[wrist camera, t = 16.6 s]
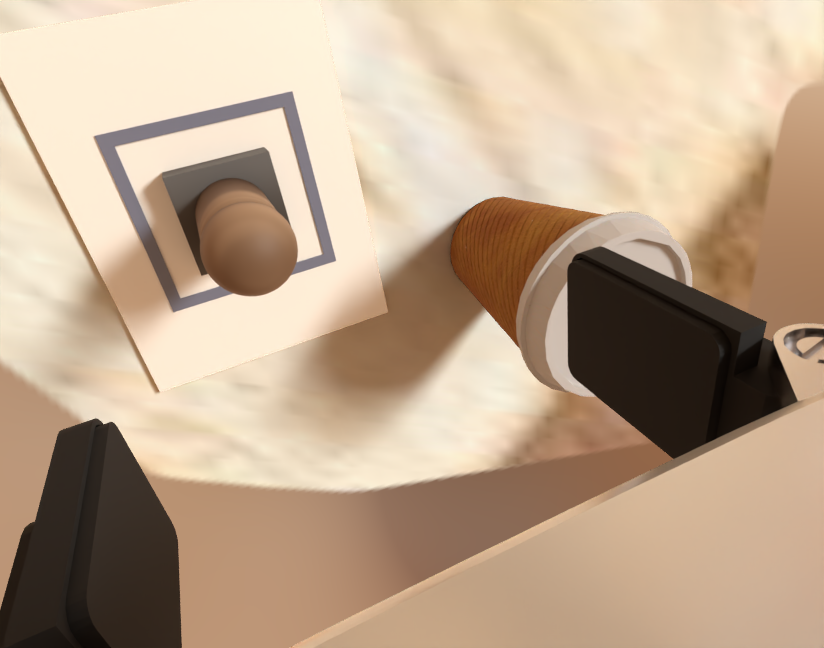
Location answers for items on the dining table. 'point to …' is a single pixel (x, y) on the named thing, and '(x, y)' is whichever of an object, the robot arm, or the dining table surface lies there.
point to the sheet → (191, 144)
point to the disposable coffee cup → (548, 270)
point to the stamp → (235, 221)
